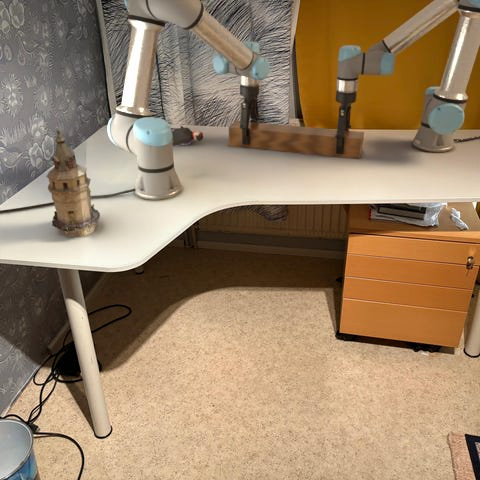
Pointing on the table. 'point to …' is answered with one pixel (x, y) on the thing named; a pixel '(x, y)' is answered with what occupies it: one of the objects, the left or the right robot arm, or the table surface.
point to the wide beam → (297, 139)
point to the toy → (185, 136)
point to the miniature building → (70, 193)
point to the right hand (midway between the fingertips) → (341, 149)
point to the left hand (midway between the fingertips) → (249, 140)
